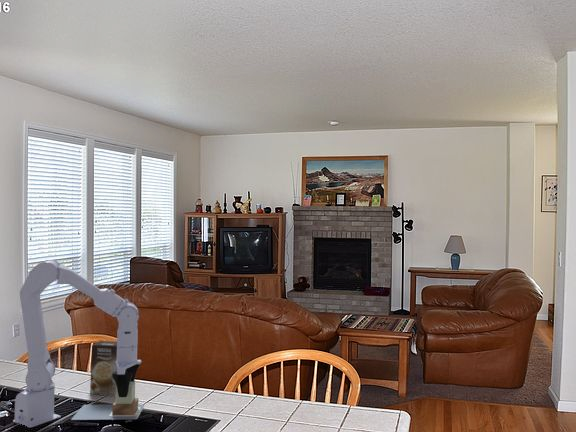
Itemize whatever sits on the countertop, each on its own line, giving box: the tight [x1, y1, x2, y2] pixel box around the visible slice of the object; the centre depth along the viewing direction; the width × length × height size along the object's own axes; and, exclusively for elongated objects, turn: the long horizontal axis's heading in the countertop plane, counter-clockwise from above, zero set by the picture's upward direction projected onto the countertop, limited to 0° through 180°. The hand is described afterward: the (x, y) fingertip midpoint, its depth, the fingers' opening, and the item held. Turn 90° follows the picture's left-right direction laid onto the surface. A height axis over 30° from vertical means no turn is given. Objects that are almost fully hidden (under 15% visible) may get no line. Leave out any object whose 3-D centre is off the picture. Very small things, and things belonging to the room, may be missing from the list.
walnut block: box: [112, 397, 139, 415], centre depth 151 cm, size 6×6×3 cm
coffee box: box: [89, 340, 117, 396], centre depth 169 cm, size 9×6×16 cm
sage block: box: [114, 381, 136, 404], centre depth 151 cm, size 4×4×5 cm
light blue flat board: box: [70, 403, 146, 421], centre depth 151 cm, size 18×12×1 cm, turn 95°
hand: (125, 392), depth 151 cm, fingers open, 7 cm apart
